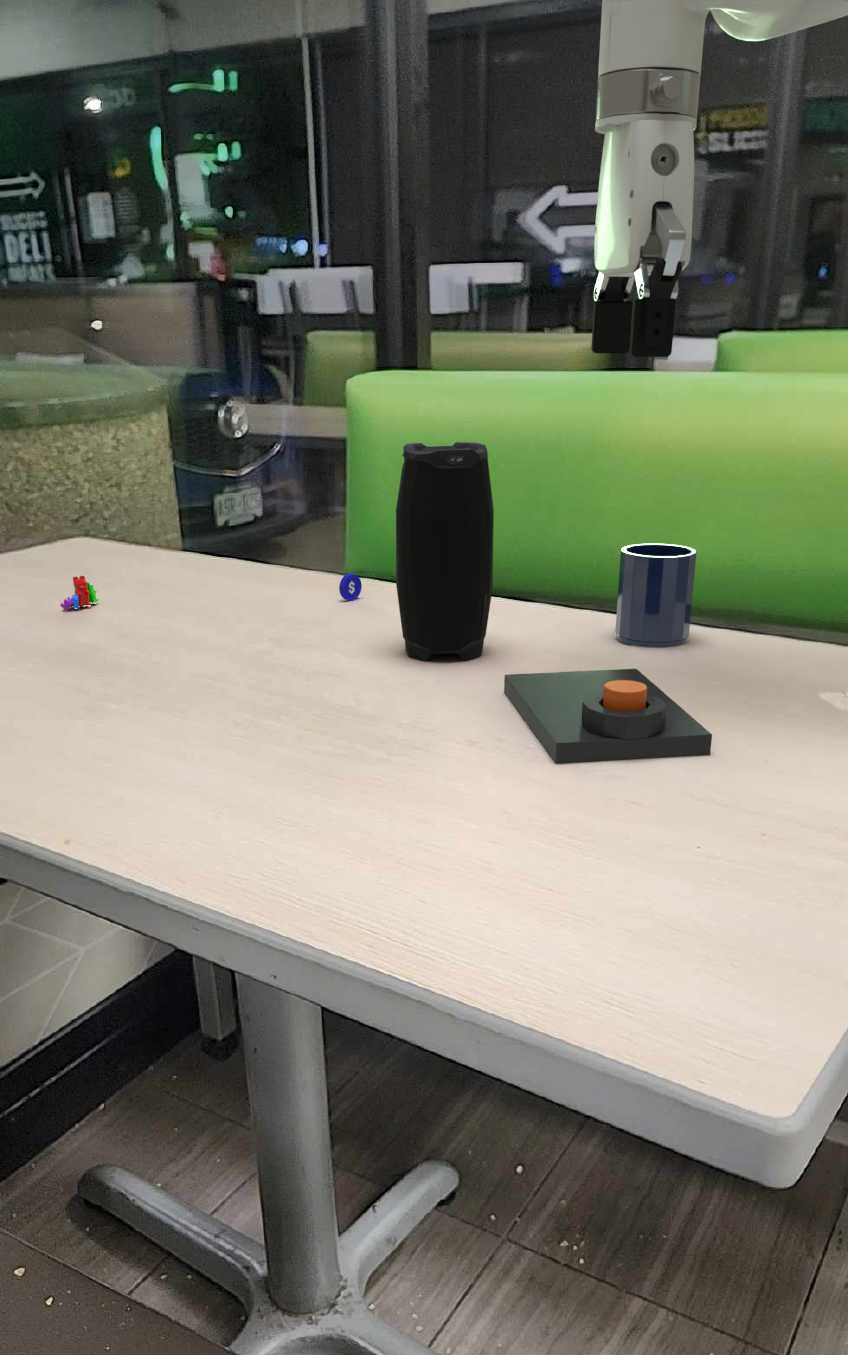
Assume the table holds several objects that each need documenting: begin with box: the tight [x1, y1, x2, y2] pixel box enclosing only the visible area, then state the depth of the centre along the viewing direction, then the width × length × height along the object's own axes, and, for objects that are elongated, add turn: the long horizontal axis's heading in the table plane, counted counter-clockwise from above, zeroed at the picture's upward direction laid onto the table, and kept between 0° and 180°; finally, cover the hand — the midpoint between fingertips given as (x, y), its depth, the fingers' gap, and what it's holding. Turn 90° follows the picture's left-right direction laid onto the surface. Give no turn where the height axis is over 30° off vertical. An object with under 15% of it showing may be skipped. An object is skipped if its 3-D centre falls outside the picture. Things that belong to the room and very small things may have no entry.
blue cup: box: [614, 543, 698, 649], centre depth 116 cm, size 7×7×9 cm
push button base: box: [503, 668, 713, 765], centre depth 93 cm, size 12×18×4 cm, turn 9°
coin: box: [338, 573, 363, 601], centre depth 134 cm, size 3×1×3 cm, turn 138°
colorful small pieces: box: [60, 575, 100, 611], centre depth 131 cm, size 5×3×4 cm, turn 131°
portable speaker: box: [395, 441, 495, 662], centre depth 109 cm, size 9×9×20 cm
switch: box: [603, 680, 647, 711], centre depth 87 cm, size 3×3×2 cm
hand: (629, 354), depth 93 cm, fingers open, 9 cm apart
